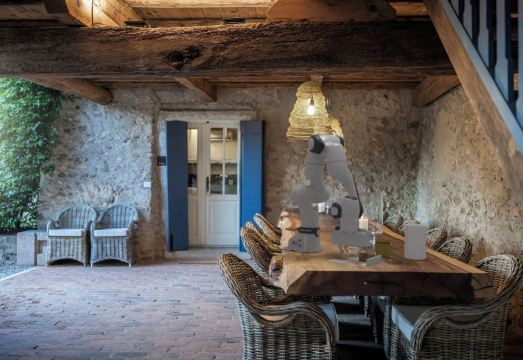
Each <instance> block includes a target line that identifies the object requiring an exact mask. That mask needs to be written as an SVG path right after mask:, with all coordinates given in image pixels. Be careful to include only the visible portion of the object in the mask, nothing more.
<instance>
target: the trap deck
mask: <svg viewBox="0 0 523 360" xmlns="http://www.w3.org/2000/svg"><path fill="white" fill-rule="evenodd" d="M340 257H341V258H345V256H342V255H341V256H340ZM346 258H347V259H335V258H331V259H329V260H327V262H331V263H338V264H339V263H340V264H348V263H350V262H353V263H362V264H360V266H362V267H370V266H373V265H375V264H377V263H380V262H382V257H381V255H378V256H377V255H376V256H375V255H374V257H373V258H370V259H367V260H366V262H359V257H350V256H346Z"/></svg>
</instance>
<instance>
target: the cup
mask: <svg viewBox="0 0 523 360" xmlns="http://www.w3.org/2000/svg"><path fill="white" fill-rule="evenodd" d="M403 251H404V254H403V255H404V258H405V259H406V260H410V261H411V260H413V261H424V260H426V258H427V224H422V223H405V224H404V250H403Z"/></svg>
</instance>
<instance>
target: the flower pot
mask: <svg viewBox="0 0 523 360" xmlns="http://www.w3.org/2000/svg"><path fill="white" fill-rule="evenodd" d="M374 247H375V248H374V250H375V254H376V256H378V255H381V259H383V258H385V259H389V258H390V257H391V255H392V247H393V243H392V242H391V241H379V240H378V241H376V240H375V241H374Z"/></svg>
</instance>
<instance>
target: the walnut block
mask: <svg viewBox="0 0 523 360" xmlns="http://www.w3.org/2000/svg"><path fill="white" fill-rule="evenodd" d="M373 257H375V253H374V252H364V251H361V253H360V254H359V255H358V258H359V262H358V263H360V262H366V260H367V259H370V258H373Z"/></svg>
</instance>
